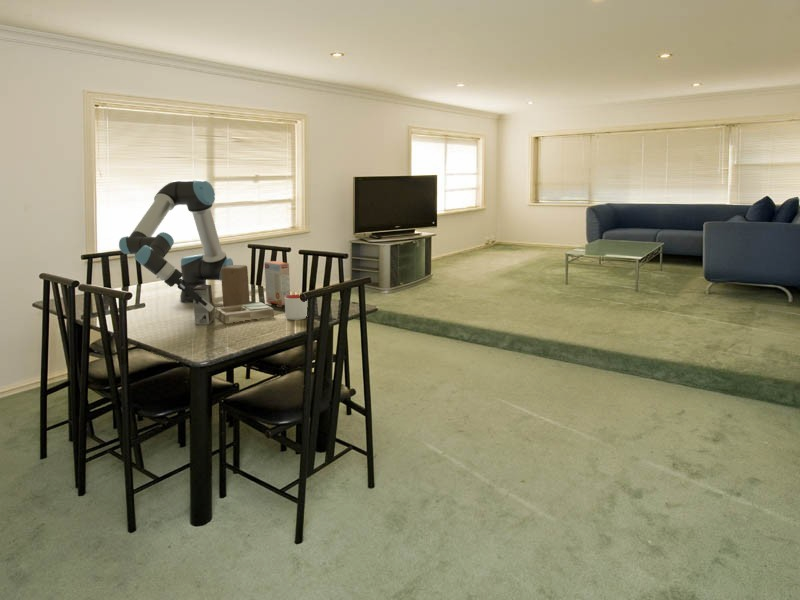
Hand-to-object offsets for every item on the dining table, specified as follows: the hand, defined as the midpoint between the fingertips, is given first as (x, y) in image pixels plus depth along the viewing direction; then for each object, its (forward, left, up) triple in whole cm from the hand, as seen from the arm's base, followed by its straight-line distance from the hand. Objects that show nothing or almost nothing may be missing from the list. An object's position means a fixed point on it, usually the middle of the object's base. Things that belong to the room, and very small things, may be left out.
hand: (210, 307), depth 259 cm
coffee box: (0, -3, -7) cm, 7 cm away
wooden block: (-25, +19, -7) cm, 32 cm away
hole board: (0, +15, -7) cm, 16 cm away
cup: (+16, +34, -7) cm, 38 cm away
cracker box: (-20, +39, -7) cm, 45 cm away
